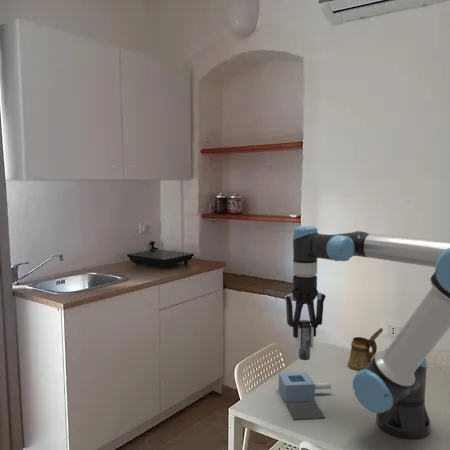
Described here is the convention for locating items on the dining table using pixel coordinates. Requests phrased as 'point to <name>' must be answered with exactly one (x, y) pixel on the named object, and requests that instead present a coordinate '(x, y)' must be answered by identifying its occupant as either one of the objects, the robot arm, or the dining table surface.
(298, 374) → the block
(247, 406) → the dining table surface
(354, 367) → the wooden mug
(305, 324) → the bottle
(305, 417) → the mat
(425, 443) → the dining table surface
